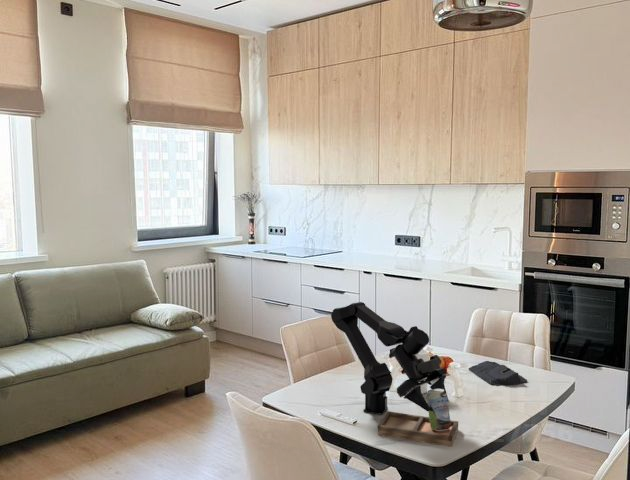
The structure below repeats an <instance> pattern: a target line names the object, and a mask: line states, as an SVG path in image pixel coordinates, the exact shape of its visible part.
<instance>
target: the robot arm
mask: <svg viewBox="0 0 630 480" xmlns="http://www.w3.org/2000/svg"><path fill="white" fill-rule="evenodd" d="M330 318H331V321H332V323H333V325H335V327H336V328H337V329H338V330H339V331H341V332H343V333H344V334H345V336H346V338H347V339H348V341H349V342H350V345H351V347H352V348H353V350H354V352H355V354H356V356H357V358H358V360H359V362H360V363H361V365H362V367H363V369H364V370H363V371H364V372H363V379H364V382H363V383H362V384H361V385H360V392H361V394H364V398H365V399H364V400H365V401H364V402H365V404H364V405H365V406H364V409H363V412H364V413H371V414H378V415H383V414H384V413H385V412H386V411H387V409H388V396H387V392H390V390H391V387H392V384H393V380H394V379H393V376H392V371H391V370H390V369H389V367H388V365H387V364H386V362H382V363H380V362H379V361H378V360H377V358H376V356H375V355H374V353H373V350H371V348H370V346H369V344H368V342H367V341H366V339H365V337H364V335H363V333H362V332H361V329H360V328H359V326H358V324H359V320H360V321H361V322H362V323H364V324H365V325H366V326H367V327H369V328H370V329H371V330H373V331H374V332H375V333H376V334H377V335H376V336H377V339H378V340H379V341H380V342H381V343H382V345H384V346H385V347H392V348H390V349H389V354H388V358H389V359H392V358H395V360H396V362H397V363H398V364H399V366H400V367H401V369H402V370H401V371H400V372H401V374H402V375H404V374H405V376H407V379H405V380H404V381H403V382H402V383H400V385H399V386H397V388H396V393H397V395H398V396H399V398H403V399H404V400H405V399H406V400H408V401H410V402H411V403H414V404H415V405H417V406H419V407H420V408H422V409H423V410H424V411H425V412H428V411H430V408H429V405H428V404H427V399H425V397H424V394H422V393H421V386H420V385H423V384H425V383H427V385H429V388H430V390H431V389H444V391H445V393H446V394H447V395H448V393H447V390H446V387H445V379H446V378H447V375H448V372H447V370H446V369H445V367H441V365H442V359H441V358H440V357H439V355H438V354H434V355H431V356H429V360H428V361H425V362H424V361H423V359H421V358H420V359H418V358H417V357H416V355H415V354H418V353H419V352H420V351H421V350H422V349H425V347H426V346H427V345H429V343H430V337H429V335H428V333H426V332H425V331H424V330H422V329H420V328H418V326H417V325H415V326H411V327H410V328H409V330H408V331H407V330H405V329H404V327H403V326H401V325H399V324H397V323H395V322H390V321H387V320H385V319H384V318H382V317H381V316H380V315H379V314H377V313H376V312H374V311H373V310H372V309H371V308H369V307H368V306H367V305H366V303H365V302H362V301H359V302H358V301H357V302H353V303H350V304H349V305H346V306H342V307H336V308H334V309H332V312H331V315H330ZM394 346H395V347H394ZM424 380H425V381H424ZM419 382H420V383H419ZM447 400H448V403H449V397H448V396H447Z"/></svg>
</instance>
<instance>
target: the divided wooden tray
mask: <svg viewBox="0 0 630 480" xmlns="http://www.w3.org/2000/svg"><path fill="white" fill-rule="evenodd" d="M450 422H451V427H450V428H449V429H448V430H446V431H435V430H433V429H432V428H431V427H430V419H429V416H423V415H422V416H421V415H415V414H409V413H403V412H394V411H387V412H386V413H385V415H384V417H383V418H382V419H381V420H380V422H379V423H378V425H377V435H378V436H383V435H384V436H385V437H391V438H395V439H396V438H397V439H402V440H403V439H404V440H408V441H409V440H410V441H413V442H414V441H415V442H422V443H425V444H427V443H428V444H434V445H439V446H445V447H446V446H447V447H453V444H454V441H455V440H456V437H457V434H458V431H459V421H456V420H451V419H450Z"/></svg>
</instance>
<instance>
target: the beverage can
mask: <svg viewBox="0 0 630 480" xmlns="http://www.w3.org/2000/svg"><path fill="white" fill-rule="evenodd" d="M446 393H447V392H446ZM446 393H445V391H444V389H431V388H430V389H429V390H427V392H426V402H427V404H428V405H429V408H430V411H427V413H428V417H429V419H430V427H431V428H432V429H433V430H435V431H446V430H448V429H449V428H450V427H451V422H450V420H451V418H450V417H451V416H450V408H449V402H448V400H449V399H448V400H447V397H448V393H447V394H446Z"/></svg>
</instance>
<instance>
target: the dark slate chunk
mask: <svg viewBox="0 0 630 480" xmlns="http://www.w3.org/2000/svg"><path fill="white" fill-rule="evenodd" d="M468 371H469V372H471V373H472V374H473V375H475V376H477V378H479V379H481V380H482V381H484V382H485V383H487V384H489V385H490V386H495V387H502V386H518V385H521V384H524V383H525V384H526V383H528V379H526V378H525V377H524V376H523V375H520V374H519V372H517V371H514V370H512V369H511V368H510V367H508V366H507V365H505V364H500V363H498V362H496V361H490V360H486V361H485V360H484V361H482V362H480V363H478V364H475V365H472V366H471V367H469V368H468Z"/></svg>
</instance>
